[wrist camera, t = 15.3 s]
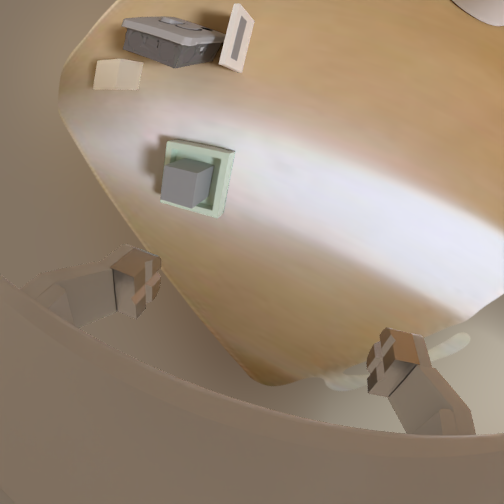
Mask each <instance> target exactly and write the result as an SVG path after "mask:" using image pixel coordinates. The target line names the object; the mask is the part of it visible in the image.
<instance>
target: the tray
mask: <svg viewBox="0 0 504 504" xmlns="http://www.w3.org/2000/svg"><path fill="white" fill-rule="evenodd" d="M234 155H235V151H231V150H227V149H222V148H218V147H213V146H208V145H203V144H198V143H193V142H188V141H183V140H177V139H174V140H170V141H167V145H166V153H165V161H164V165H167V164H169V163H172V162H175V161H178V160H181V159H184V158H187V159H191V160H195V161H200V162H204V163H208V164H212V165H215V166H214V171H213V177H212V182H211V187H210V193H209V196H208V197H207V198H206V199H204V200H203V201H201V202H200V203H199V204H197V205H196V206H195V207H193V208H192V209H191V208H188V207H185V206H181V205H178V204H175V203H171V202H168V201H165V200H161V199H160V202H161V203H165V204H168V205H172V206H176V207H179V208H183V209H186V210H190V211H193V212H197V213H200V214H204V215H207V216H211V217H214V218H218V217H220V216H221V215H222V214H223V212H224V207H225V202H226V196H227V191H228V186H229V181H230V175H231V170H232V165H233V160H234ZM163 173H164V169H163ZM162 181H163V178H162ZM161 189H162V188H161Z"/></svg>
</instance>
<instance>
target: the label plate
mask: <svg viewBox="0 0 504 504" xmlns="http://www.w3.org/2000/svg"><path fill="white" fill-rule="evenodd" d="M254 22H255V21H254V20H253V19H252V17H251V16H250V15H249V14H248V13H247V11H246V10H245V9H244V8H243V7H242V6H241V4H234V6H233V9H232V13H231V17H230V20H229V24H228V28H227V32H226V36H225V40H224V44H223V48H222V52H221V56H220V61H219V64H220V65H222V66H224V67H226V68H229V69H231V70H233V71H235V72H237V73H242V71H243V66H244V62H245V58H246V54H247V49H248V45H249V41H250V37H251V33H252V29H253V26H254Z"/></svg>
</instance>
